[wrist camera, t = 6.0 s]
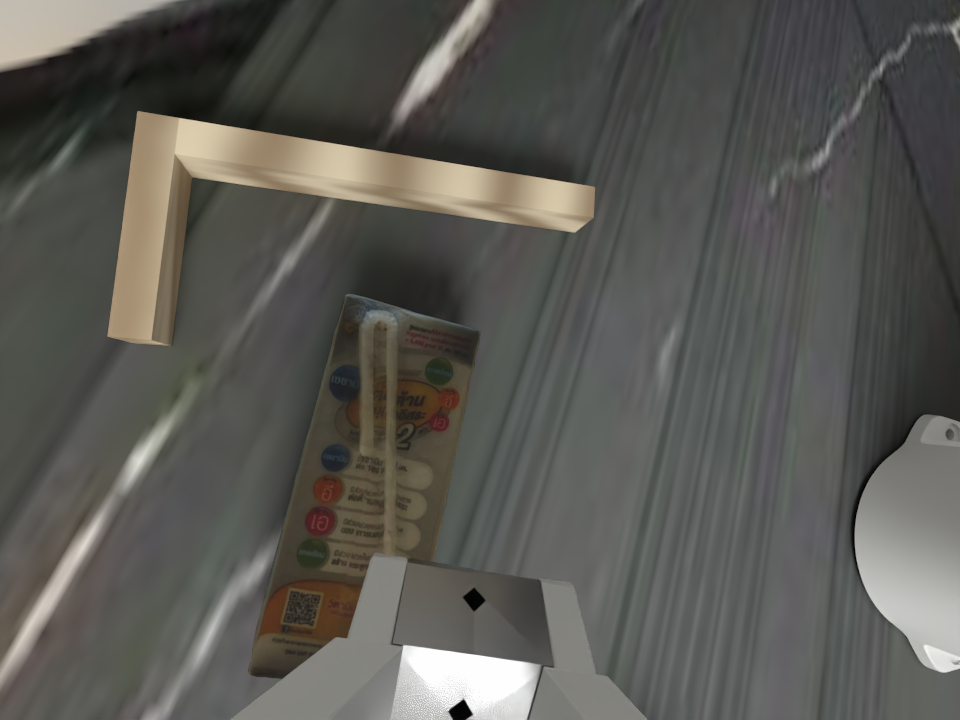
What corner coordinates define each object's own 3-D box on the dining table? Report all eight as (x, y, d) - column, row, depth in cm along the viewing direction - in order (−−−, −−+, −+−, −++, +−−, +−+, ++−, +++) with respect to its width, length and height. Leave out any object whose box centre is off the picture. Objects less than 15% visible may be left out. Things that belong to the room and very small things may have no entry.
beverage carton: (467, 339, 34) (492, 325, 28) (398, 647, 32) (407, 710, 25) (344, 308, 32) (340, 285, 26) (261, 629, 30) (234, 691, 24)
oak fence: (576, 204, 36) (595, 186, 33) (567, 378, 35) (586, 376, 32) (158, 138, 31) (137, 110, 28) (132, 342, 30) (107, 336, 27)
